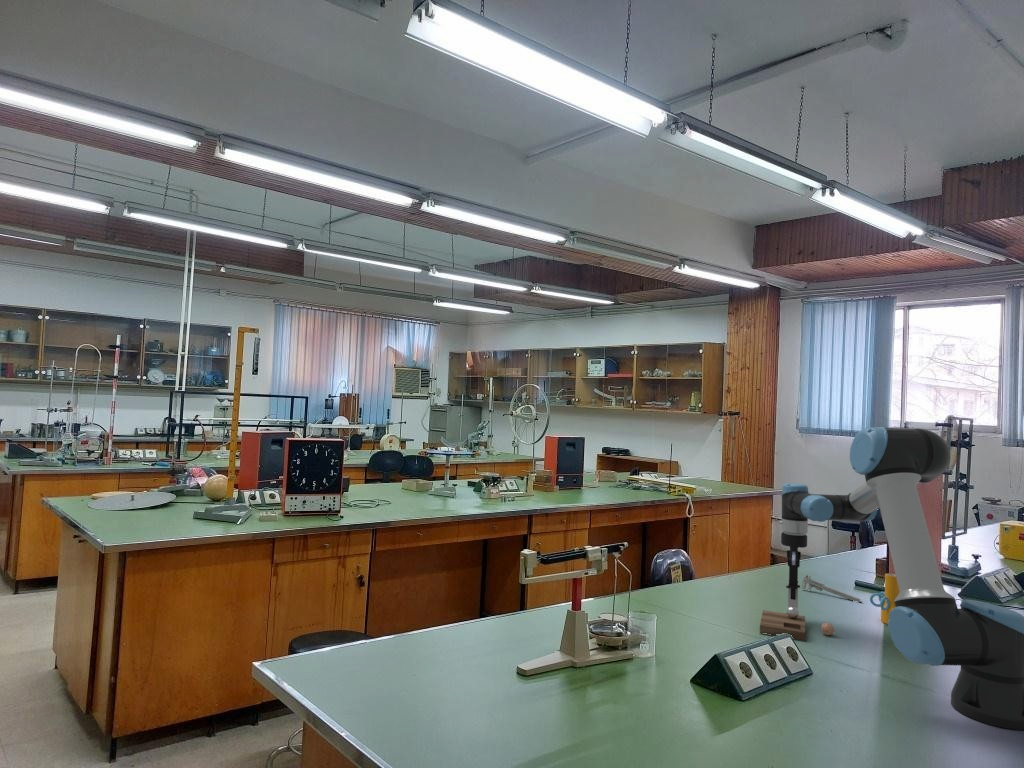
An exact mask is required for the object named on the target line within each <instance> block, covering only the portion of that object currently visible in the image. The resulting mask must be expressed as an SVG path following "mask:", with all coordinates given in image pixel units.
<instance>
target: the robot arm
mask: <svg viewBox="0 0 1024 768" xmlns="http://www.w3.org/2000/svg"><path fill="white" fill-rule="evenodd" d="M951 458H952V457H951V450H950V448H949V445H948V444H947V442H946V440H945V439H944V438H943V437H941V436H940V435H939V434H937V433H935V432H933V431H931V430H928V429H926V428H925V429H923V428H902V427H884V426H877V427H866V428H865V427H864V428H862V429H861V430H859V431H858V432H857V433H856V434H855V436H854V437H853V439H852V443H851V445H850V448H849V462H850V465H851V469H853V470H854V472H856V473H857V474H860V475H862V476H864V478H865V482H864V483H862V484H861V485H859V486H858V487H856V489H854V490H852V491H851V492H850V493H848V494H822V493H821V494H819V493H818V494H817V493H815V494H814V493H809V487H808V485H806V484H804V483H797V482H796V483H793V482H792V483H791V482H786V483H784V484H783V485H782V489H781V490H782V491H781V520H780V521H778V523H779V524H780V525H781V531H782V532H781V533H780V534H781V535H780V537H781V538H780V543H781V545H783V546H785V547H789V550H788V549H787V550H786V557H787V566H788V568H789V569H788V584H787V585H786V589H788V595H787V599H788V600H787V601H788V602H787V603H788V605H787V608H788V607H790V606H794V607H796V608H797V609H798V608H799V603H798V601H799V589H800V588H801V585H800V584H799V581H798V575H799V574H798V573H799V571H798V570H799V568H800V564H801V563H800V561H801V558H802V557H801V555H802V553H801V551H799V548H801V549H802V548H803V549H804V548H807V547H808V535H807V534H808V531H809V529H808V526H809V523H808V522H809V521H808V520H810V521H812V522H818V523H819V522H821V523H822V522H826V521H847V522H849V521H850V522H851V521H853V522H869V521H872V520H874V519H875V517H876V515H877V513H878V509H879V510H880V511H879V512H880V517H881V519H882V523H883V526H884V531H885V535H886V539H887V545H888V547H889V552H890V557H891V560H892V564H893V565H892V566H893V569H894V574H896V578H897V582H898V586H899V590H900V593H899V595H898V596H897V598H896V599H895V600H894V601H895V606H896V607H895V608H894V609H892V610H891V612H890V613H889V616H888V617H889V620H888V624H887V627H888V631H889V635H890V639H891V641H892V643H893V644H894V646H895V648H896V649H897V650H898V651H899V653H900V654H902V656H904V657H905V659H907V660H908V661H909V662H912V663H914V664H917V665H918V664H919V665H925V666H926V665H928V666H932V667H935V666H937V667H938V666H960V671H959V673H958V676H957V678H956V680H955V683H954V685H953V687H952V689H951V692H950V705H951V706H952V708H954V709H955V710H956V711H957V712H959V713H960V712H961V713H960V714H962V715H964V716H966V717H968V718H971V719H973V720H976V721H978V722H981V723H983V724H987V725H991V726H995V727H999V728H1003V729H1008V730H1009V729H1010V730H1016V731H1018V730H1019V731H1024V616H1023V615H1022V613H1019V612H1017V611H1015V610H1013V609H1009V608H1007V607H1004V606H1002V605H1001V606H1000V605H997V604H992V603H988V602H984V601H979V600H975V599H962V600H961V602H960V604H959V607H960V608H958V605H957V602H956V597H954V596H953V595H951V594H950V593H949V592H947V591H946V590H945V588H944V583H943V581H942V575H941V573H940V572H941V571H940V569H939V567H938V562H937V558H936V555H935V552H934V548H933V543H932V540H931V536H930V533H929V528H928V526H927V520H926V517H925V514H924V509H923V507H922V503H921V499H920V495H919V492H918V488H917V485H918V484H927V483H930V482H932V481H934V480H935V479H937V478H939V477H940V476H942V474H944V473H945V471H947V469H948V468H949V465H950V464H951V463H950V462H951ZM798 610H799V609H798Z"/></svg>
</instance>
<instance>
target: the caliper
mask: <svg viewBox="0 0 1024 768" xmlns="http://www.w3.org/2000/svg"><path fill="white" fill-rule="evenodd" d="M811 578H812V576H811V575H809V574H806V576H804V577H803V579H802V582H801V583H802V584H801V585H802V587H801V589H805V590H806V586H807V584H808V586H807V591H808V590H810V591H811V590H812V589H813V588H815V590H817V591H818V590H819V592H822V591H826V592H829V593H830V594H833V595H836V596H838V597H842V598H843V599H846V600H848V599H850V600H849V601H851V600H854V601H858V602H859V603H860V602H864V601H862V600H861V599H860V598H858V597H856V596H853V595H851V594H848V593H846V592H843V591H840V590H837V589H835V588H833V587H829V586H828V585H825V583H823V582H820V581H817V580H815V579H811ZM858 602H857V603H858Z"/></svg>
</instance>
